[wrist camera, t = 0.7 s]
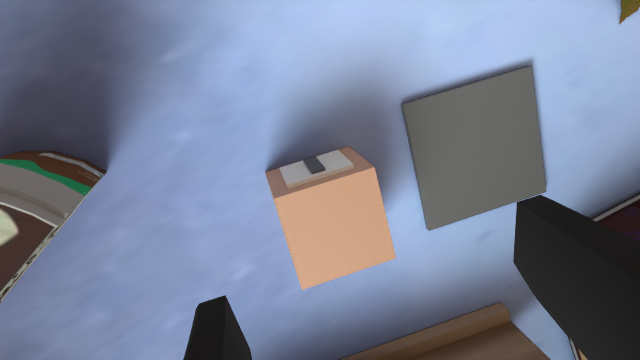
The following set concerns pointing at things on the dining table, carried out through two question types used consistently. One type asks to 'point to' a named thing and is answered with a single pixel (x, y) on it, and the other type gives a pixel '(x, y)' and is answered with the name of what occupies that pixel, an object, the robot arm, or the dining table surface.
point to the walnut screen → (461, 340)
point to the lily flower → (628, 8)
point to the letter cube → (331, 215)
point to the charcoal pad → (476, 147)
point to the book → (627, 218)
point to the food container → (37, 205)
